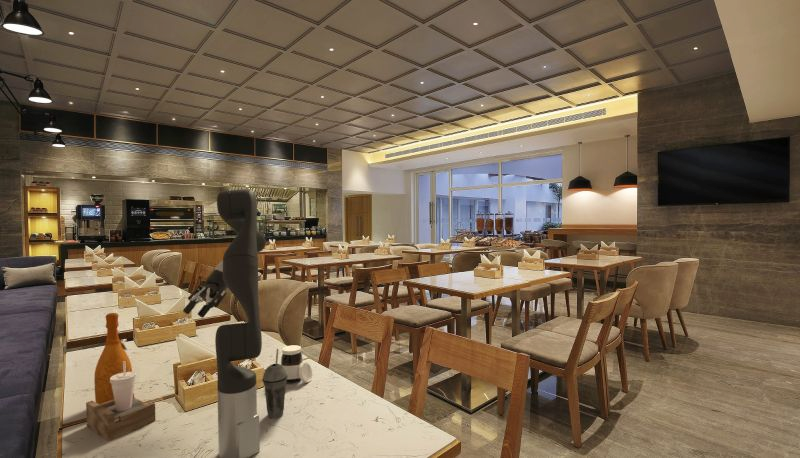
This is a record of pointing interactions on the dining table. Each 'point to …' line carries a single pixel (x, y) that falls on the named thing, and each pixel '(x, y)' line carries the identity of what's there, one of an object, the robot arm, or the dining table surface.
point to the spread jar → (295, 365)
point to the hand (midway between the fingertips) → (192, 314)
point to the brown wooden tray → (118, 417)
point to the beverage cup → (275, 388)
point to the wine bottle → (110, 361)
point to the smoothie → (123, 388)
